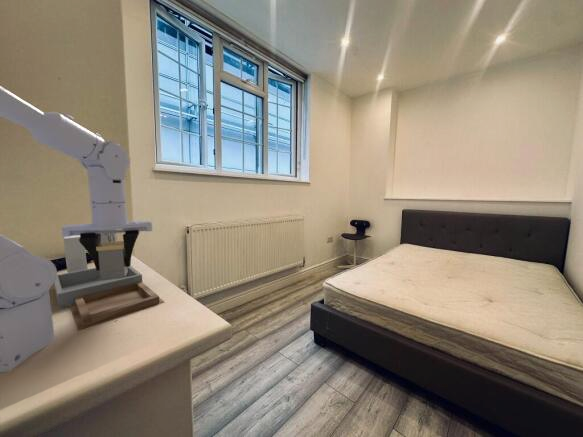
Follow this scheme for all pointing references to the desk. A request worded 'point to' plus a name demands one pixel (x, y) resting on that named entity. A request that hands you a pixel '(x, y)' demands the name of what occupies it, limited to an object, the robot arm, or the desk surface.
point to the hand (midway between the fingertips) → (114, 267)
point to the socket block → (112, 304)
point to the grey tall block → (112, 260)
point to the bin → (88, 284)
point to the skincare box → (74, 254)
